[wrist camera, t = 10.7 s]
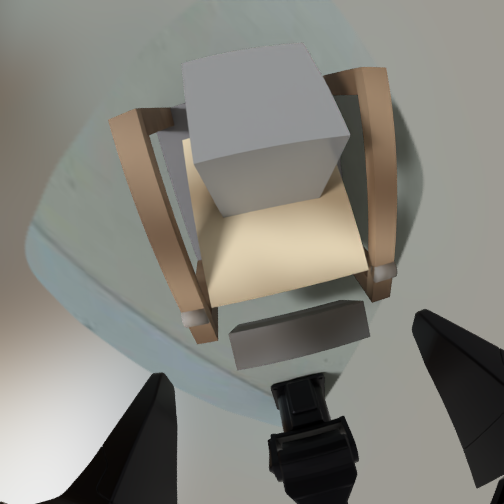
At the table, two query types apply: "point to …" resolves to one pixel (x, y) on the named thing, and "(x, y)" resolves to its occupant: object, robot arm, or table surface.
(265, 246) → the trapdoor
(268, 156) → the light grey block
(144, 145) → the frame
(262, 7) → the table surface
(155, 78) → the table surface
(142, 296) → the table surface
